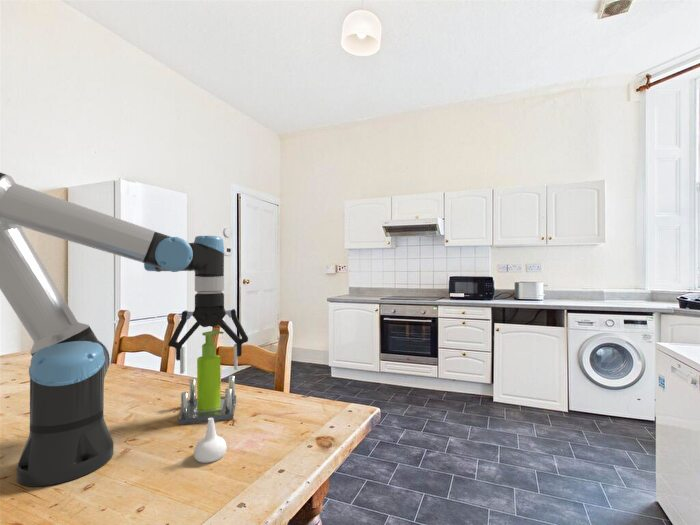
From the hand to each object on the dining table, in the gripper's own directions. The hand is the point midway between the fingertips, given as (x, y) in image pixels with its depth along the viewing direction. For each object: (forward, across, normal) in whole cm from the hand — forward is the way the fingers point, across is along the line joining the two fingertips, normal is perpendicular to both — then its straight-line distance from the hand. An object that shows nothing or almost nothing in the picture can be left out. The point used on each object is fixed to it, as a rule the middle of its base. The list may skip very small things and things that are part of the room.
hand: (209, 370), depth 98 cm
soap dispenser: (+10, 0, 0) cm, 10 cm away
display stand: (+11, 0, 0) cm, 11 cm away
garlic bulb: (+12, -3, +25) cm, 28 cm away
